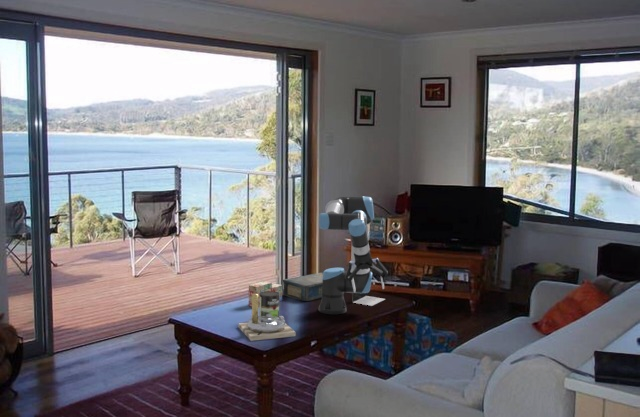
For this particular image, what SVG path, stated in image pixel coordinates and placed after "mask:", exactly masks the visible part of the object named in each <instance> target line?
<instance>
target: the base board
mask: <svg viewBox="0 0 640 417" xmlns="http://www.w3.org/2000/svg"><path fill="white" fill-rule="evenodd" d="M238 328H239V329H240V331H241V332H242V333H243V334H244V335H245V336H246V337H247V338H248V340H249V341H250V342H252V341H261V340H262V341H263V340H271V339H282V338H289V337H290V338H291V337H296V331H295V330H294V329H293V328H292V327H291V326H289V325H288V324H287V323H286V322H285V329H284V330H282V331H279V332H274V333H259V332H254V331H251V330H249V329H248V322H242V323H241V322H239V323H238Z"/></svg>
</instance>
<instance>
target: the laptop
mask: <svg viewBox="0 0 640 417" xmlns="http://www.w3.org/2000/svg"><path fill="white" fill-rule="evenodd" d="M351 297H352V298H351V299H352V300H351V301H352V304H354V303H356V304H357V305H360V304H362V305H361V306H367V305H368V307H373V306H375V305H377V304H379V303H382V302H383V301H385V300H386V298H382V297H381V298H380V297H376V296H369V295H368V293H361V294H360V293H351ZM356 304H355V305H356Z"/></svg>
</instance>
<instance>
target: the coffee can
mask: <svg viewBox="0 0 640 417" xmlns="http://www.w3.org/2000/svg"><path fill="white" fill-rule="evenodd" d="M259 295H260V301H259V308H258V317H259V316H266V314H267V313H272V316H275V317H279V316H280V301H279V293H278V292H273V291H265V292H261V293H259Z"/></svg>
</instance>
